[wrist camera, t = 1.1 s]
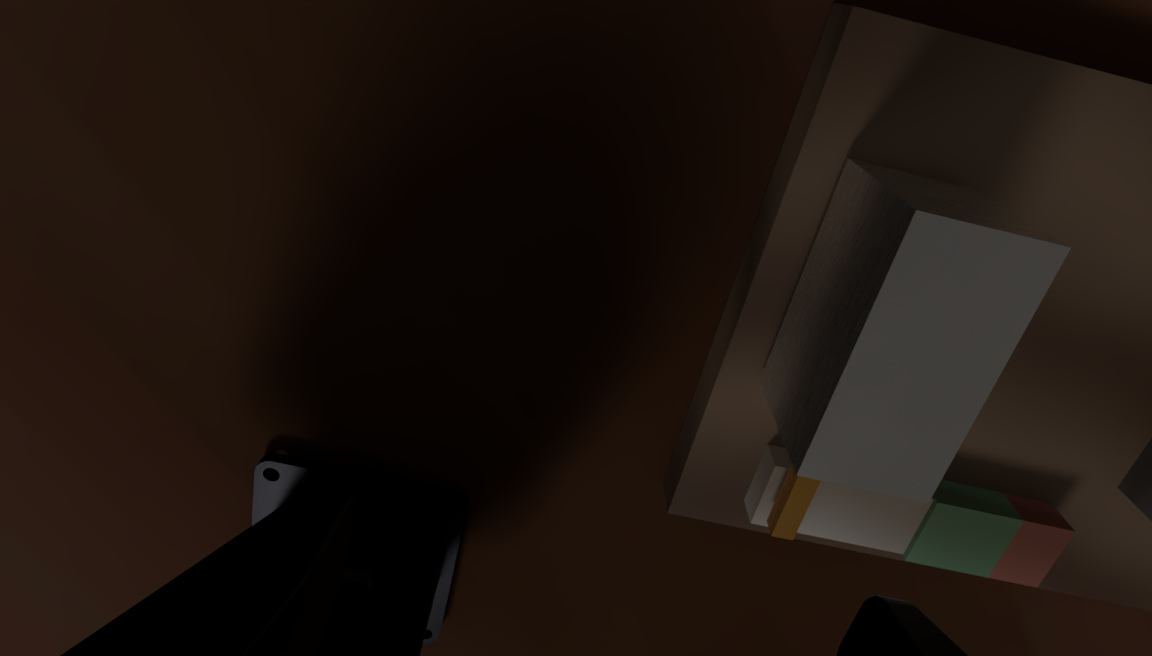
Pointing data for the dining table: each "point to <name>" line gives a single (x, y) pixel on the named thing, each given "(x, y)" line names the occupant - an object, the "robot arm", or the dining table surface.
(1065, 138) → the gauge base
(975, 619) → the dining table surface
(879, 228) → the push plate
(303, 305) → the dining table surface
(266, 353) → the dining table surface
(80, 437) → the dining table surface
